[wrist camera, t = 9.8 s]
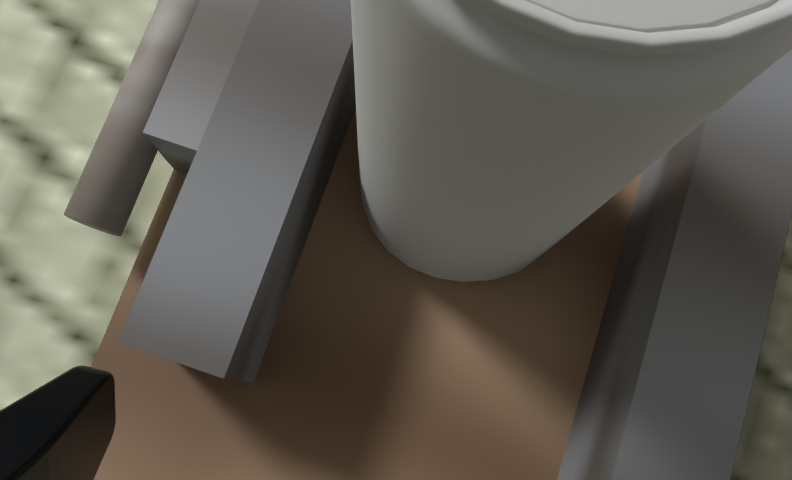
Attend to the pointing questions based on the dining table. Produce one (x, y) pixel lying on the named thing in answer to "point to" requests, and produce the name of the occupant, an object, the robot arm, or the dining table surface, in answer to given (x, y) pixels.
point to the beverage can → (532, 112)
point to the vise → (411, 285)
